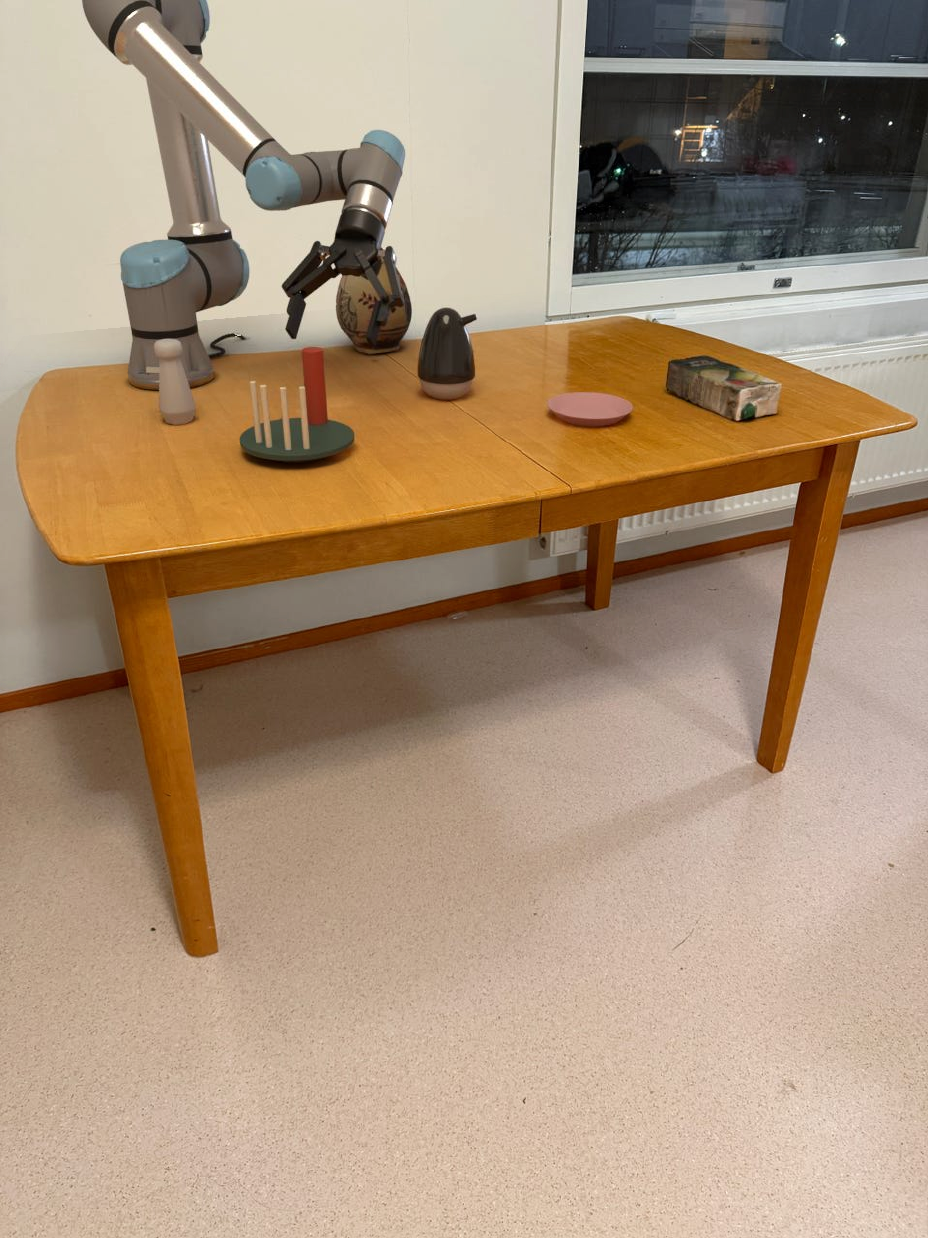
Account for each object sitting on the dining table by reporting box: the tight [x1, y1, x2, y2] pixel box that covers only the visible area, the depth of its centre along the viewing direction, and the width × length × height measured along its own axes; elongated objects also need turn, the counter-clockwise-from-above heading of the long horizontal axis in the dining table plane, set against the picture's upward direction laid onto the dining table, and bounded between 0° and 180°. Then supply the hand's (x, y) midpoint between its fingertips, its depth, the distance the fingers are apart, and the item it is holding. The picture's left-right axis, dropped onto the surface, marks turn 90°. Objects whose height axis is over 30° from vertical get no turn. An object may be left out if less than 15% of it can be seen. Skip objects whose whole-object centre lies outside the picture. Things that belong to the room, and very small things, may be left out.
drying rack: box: [239, 346, 355, 462], centre depth 135 cm, size 17×17×13 cm
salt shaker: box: [154, 339, 197, 426], centre depth 147 cm, size 6×6×13 cm
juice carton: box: [665, 354, 783, 422], centre depth 160 cm, size 20×10×6 cm, turn 29°
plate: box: [546, 391, 634, 427], centre depth 154 cm, size 14×14×2 cm
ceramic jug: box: [335, 246, 413, 355], centre depth 183 cm, size 17×15×30 cm
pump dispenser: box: [416, 307, 478, 401], centre depth 160 cm, size 10×10×15 cm
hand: (329, 338), depth 144 cm, fingers open, 13 cm apart
